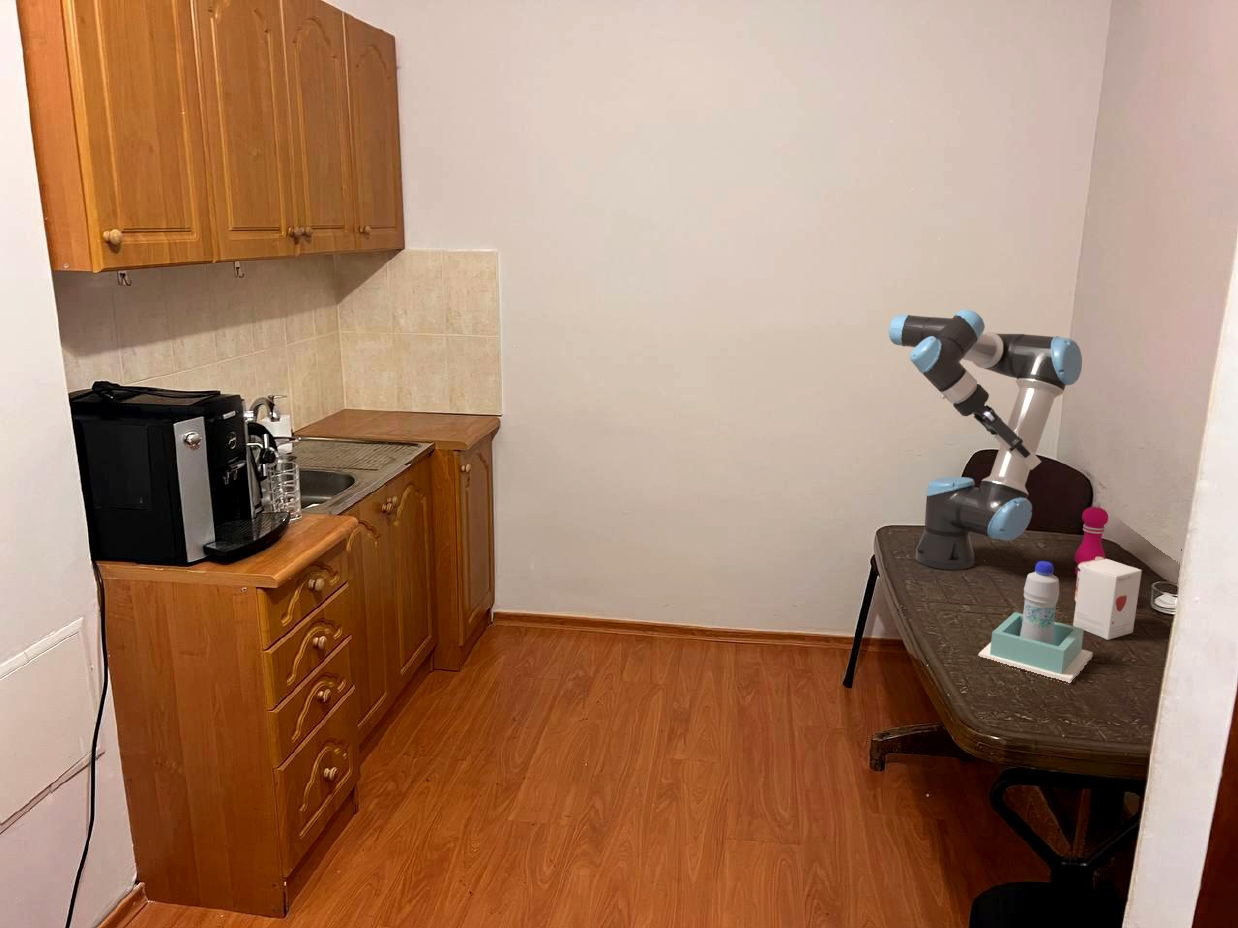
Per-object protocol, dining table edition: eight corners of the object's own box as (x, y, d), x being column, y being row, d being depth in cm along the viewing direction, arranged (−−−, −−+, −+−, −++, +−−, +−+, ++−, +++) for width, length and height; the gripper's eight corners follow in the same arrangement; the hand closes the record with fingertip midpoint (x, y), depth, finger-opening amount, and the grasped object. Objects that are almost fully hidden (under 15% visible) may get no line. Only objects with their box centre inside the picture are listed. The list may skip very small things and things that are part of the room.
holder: (978, 658, 193) (980, 631, 192) (1004, 634, 205) (1006, 608, 204) (1069, 684, 182) (1073, 655, 181) (1092, 657, 194) (1095, 629, 192)
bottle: (1050, 647, 196) (1060, 558, 191) (1053, 661, 189) (1064, 569, 185) (1016, 643, 198) (1025, 554, 193) (1018, 656, 192) (1028, 565, 187)
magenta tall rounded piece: (1097, 570, 244) (1106, 498, 240) (1108, 580, 237) (1117, 505, 233) (1068, 570, 245) (1077, 497, 240) (1078, 579, 238) (1087, 505, 233)
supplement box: (1108, 641, 202) (1116, 576, 198) (1071, 626, 210) (1079, 563, 206) (1134, 633, 206) (1143, 569, 202) (1098, 618, 214) (1105, 557, 210)
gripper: (939, 396, 226) (997, 457, 228) (966, 414, 202) (1031, 482, 204) (963, 374, 224) (1021, 436, 226) (994, 391, 200) (1058, 459, 202)
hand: (1026, 458), depth 215 cm, fingers open, 13 cm apart
